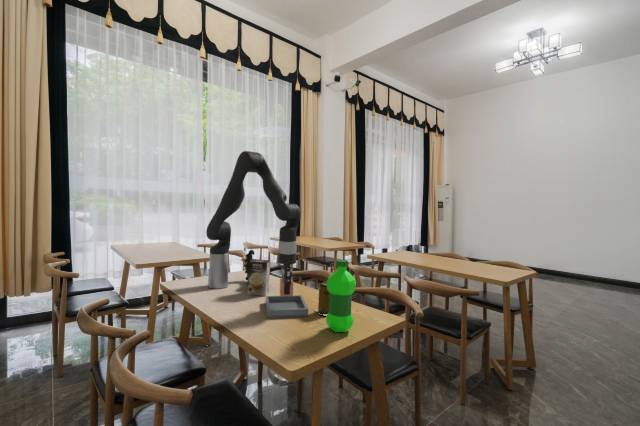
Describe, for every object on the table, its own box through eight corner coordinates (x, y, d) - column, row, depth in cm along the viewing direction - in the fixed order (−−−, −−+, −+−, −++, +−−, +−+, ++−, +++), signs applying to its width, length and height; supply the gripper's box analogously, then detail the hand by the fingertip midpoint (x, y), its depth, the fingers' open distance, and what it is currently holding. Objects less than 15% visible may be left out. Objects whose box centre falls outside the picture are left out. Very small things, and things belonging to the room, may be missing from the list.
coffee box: (246, 294, 147) (247, 261, 146) (251, 291, 153) (252, 258, 152) (265, 296, 146) (266, 262, 145) (269, 292, 152) (270, 259, 152)
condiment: (329, 308, 132) (330, 281, 132) (338, 315, 124) (340, 286, 124) (313, 310, 129) (314, 282, 128) (322, 318, 121) (323, 287, 121)
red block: (280, 296, 126) (281, 281, 126) (279, 292, 131) (280, 278, 131) (292, 296, 127) (293, 281, 127) (291, 292, 132) (291, 278, 132)
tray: (267, 318, 119) (267, 310, 119) (265, 302, 136) (265, 296, 136) (308, 316, 122) (308, 309, 122) (301, 301, 140) (301, 295, 140)
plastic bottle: (359, 330, 110) (362, 261, 109) (340, 339, 103) (343, 264, 102) (338, 322, 117) (341, 256, 117) (319, 329, 110) (321, 259, 109)
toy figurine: (240, 284, 171) (257, 291, 150) (239, 249, 171) (257, 252, 151) (256, 282, 176) (275, 289, 155) (256, 248, 177) (275, 251, 156)
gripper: (277, 249, 135) (276, 287, 135) (279, 254, 120) (278, 297, 121) (294, 249, 136) (293, 287, 137) (298, 254, 122) (297, 297, 123)
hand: (286, 292), depth 129 cm, fingers closed on red block, 5 cm apart
